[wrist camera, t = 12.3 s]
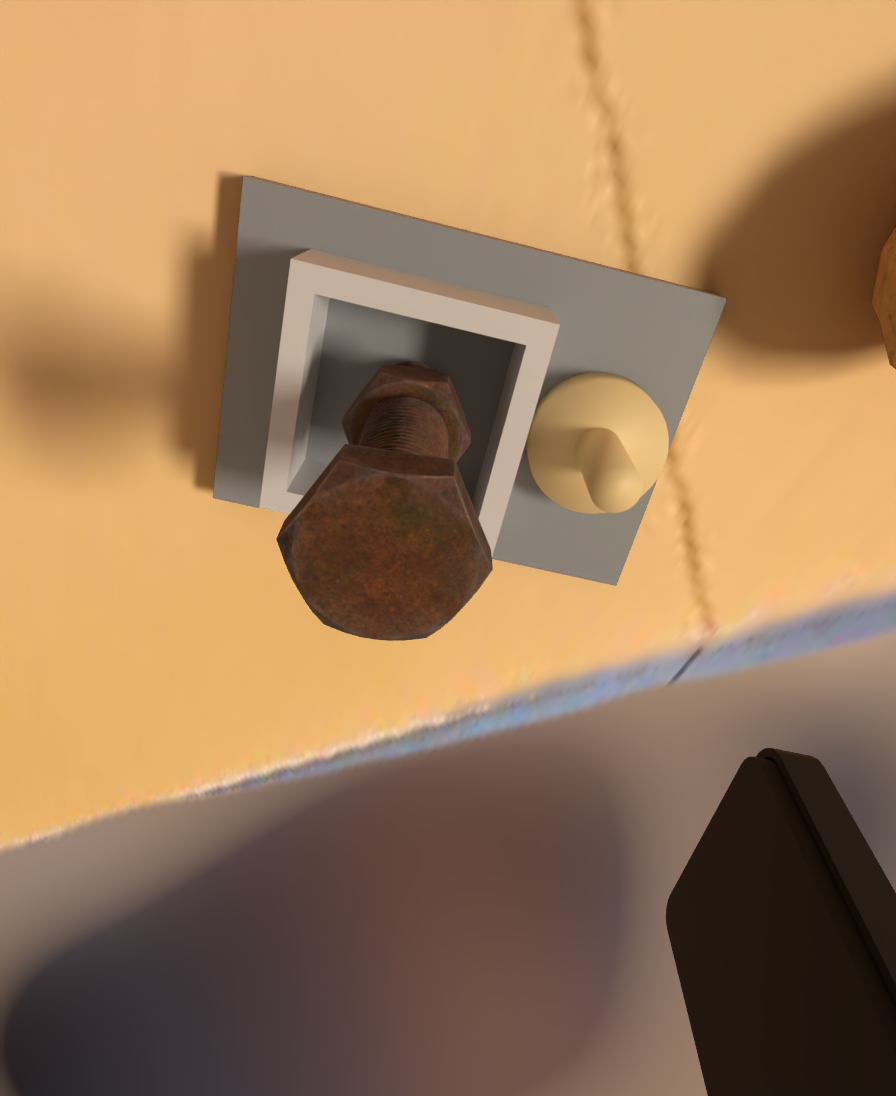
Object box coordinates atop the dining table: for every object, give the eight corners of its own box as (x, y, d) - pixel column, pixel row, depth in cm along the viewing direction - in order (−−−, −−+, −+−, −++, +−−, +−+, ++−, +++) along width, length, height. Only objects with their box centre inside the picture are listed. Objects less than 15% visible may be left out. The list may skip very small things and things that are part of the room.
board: (718, 294, 32) (782, 325, 25) (611, 574, 38) (641, 656, 31) (251, 175, 30) (191, 176, 24) (220, 488, 36) (167, 556, 30)
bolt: (407, 303, 31) (371, 420, 18) (499, 378, 32) (530, 539, 19) (328, 408, 33) (243, 583, 20) (418, 474, 34) (394, 679, 21)
